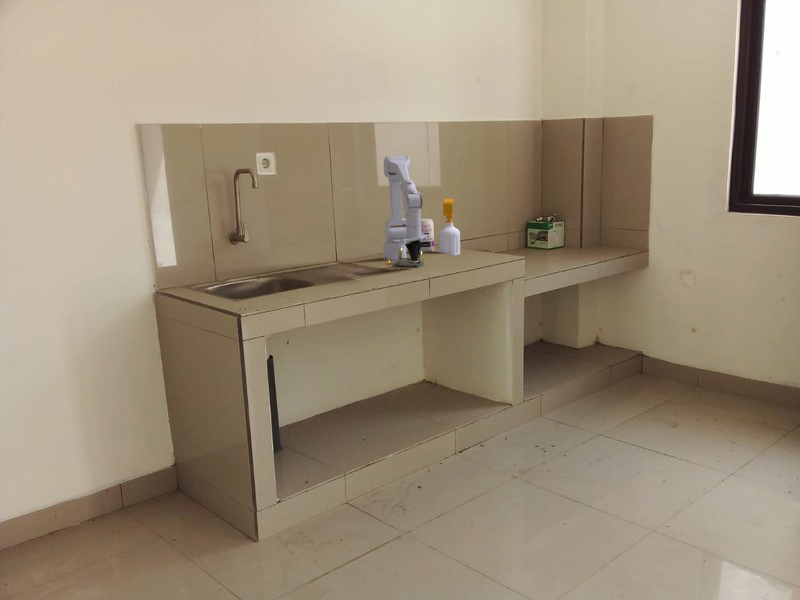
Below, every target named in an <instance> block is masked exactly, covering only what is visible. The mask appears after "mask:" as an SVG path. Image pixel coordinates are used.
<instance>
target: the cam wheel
mask: <svg viewBox="0 0 800 600" xmlns="http://www.w3.org/2000/svg"><path fill="white" fill-rule="evenodd" d="M398 255H399V259H397V260H396V261H392V260H385V265H386V266H391V265H392V266H394V265H396V266H397V267H401V268H417V267H422V266H424V265H425V259H424V257H423V252H422V251H420V252H419V256H418V260H417V261H411V257H410V256H409V257H407V258H403V257H402V248H398Z"/></svg>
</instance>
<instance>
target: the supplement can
mask: <svg viewBox="0 0 800 600" xmlns="http://www.w3.org/2000/svg"><path fill="white" fill-rule="evenodd" d="M434 227H435V226H434V221H433V219H432V218H421V235H427V240H421V241H420V242H423V245H422V247H421V249H420V251H422V253H423V252H434V251H435V239H434V238H435V231H434Z"/></svg>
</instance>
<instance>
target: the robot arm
mask: <svg viewBox="0 0 800 600" xmlns="http://www.w3.org/2000/svg"><path fill="white" fill-rule="evenodd" d="M410 159H411V158H410V156H409V155H398V156H396V155H394V156H388V155H387V156H385V157H384V158H383V173H384V174H383V175H384V177H385V178H388V183H389V200H390V201H389V202H390V218H389V219H388V220H386V221H385V223H384V238H385V241H384V242H383V245H382V255H383V260H384V261H387V260H390V261H397V259H399V255H398V248H402V257H403V258H407V255H408V254H407V251H408V253H409V257H411V261H417V260H418V256H419V252H420V249H421V247H422V245H423V242H420V241H421V240H427V235H421V219H422V218H421V217H422V216H421V215H422V214H421V213H422V211H421V209H422V208H423V195H422V193H421V192H420V191H418V190H417V187H416V185H415V182H414V181H413V180H411V178H410V175H409V172H410V169H411V160H410ZM402 198H403V200H402ZM403 209H404V214H405V218H404V217H403Z"/></svg>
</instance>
